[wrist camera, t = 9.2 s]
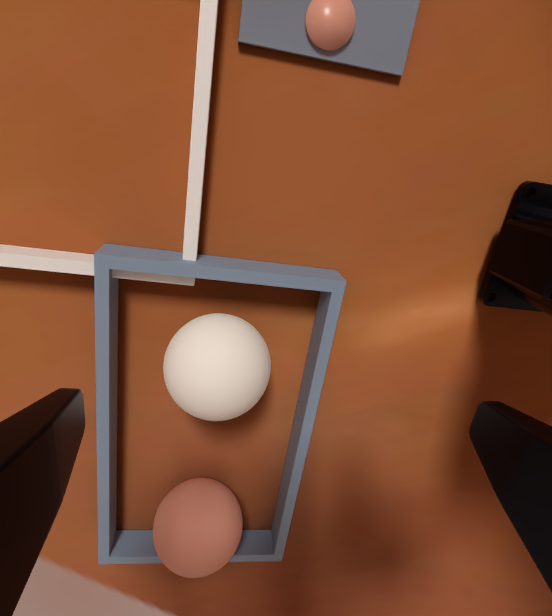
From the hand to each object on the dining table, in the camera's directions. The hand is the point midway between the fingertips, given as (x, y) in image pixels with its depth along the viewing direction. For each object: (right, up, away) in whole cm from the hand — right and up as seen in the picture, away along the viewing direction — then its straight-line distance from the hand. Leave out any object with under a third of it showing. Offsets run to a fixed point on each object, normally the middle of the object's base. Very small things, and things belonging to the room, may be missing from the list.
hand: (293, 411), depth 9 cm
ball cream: (-3, +1, +12) cm, 13 cm away
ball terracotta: (-5, -9, +16) cm, 19 cm away
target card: (+2, +15, +7) cm, 17 cm away
